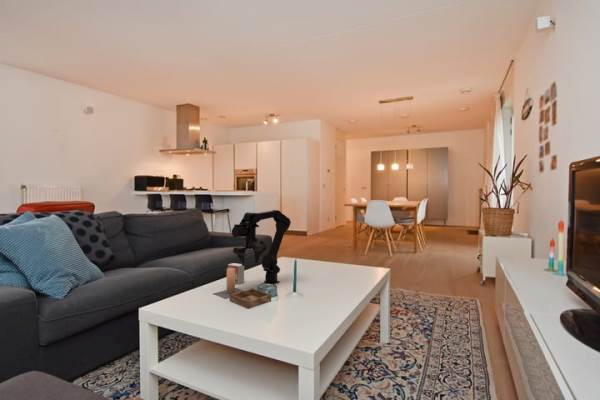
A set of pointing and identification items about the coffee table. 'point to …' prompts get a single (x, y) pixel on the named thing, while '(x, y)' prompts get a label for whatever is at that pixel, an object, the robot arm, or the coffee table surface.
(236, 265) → the small box
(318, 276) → the coffee table surface
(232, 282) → the tan cylinder
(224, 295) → the mat
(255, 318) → the coffee table surface
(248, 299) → the crate
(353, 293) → the coffee table surface
